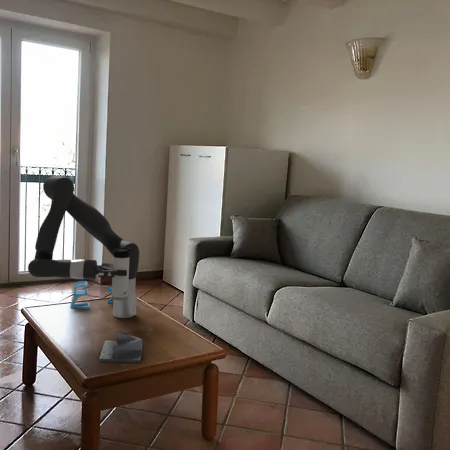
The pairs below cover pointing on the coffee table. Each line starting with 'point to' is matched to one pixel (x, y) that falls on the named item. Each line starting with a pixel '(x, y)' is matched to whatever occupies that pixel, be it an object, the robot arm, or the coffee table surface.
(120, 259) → the travel mug
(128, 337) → the v block
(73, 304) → the chair
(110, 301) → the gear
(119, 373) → the coffee table surface
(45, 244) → the robot arm
